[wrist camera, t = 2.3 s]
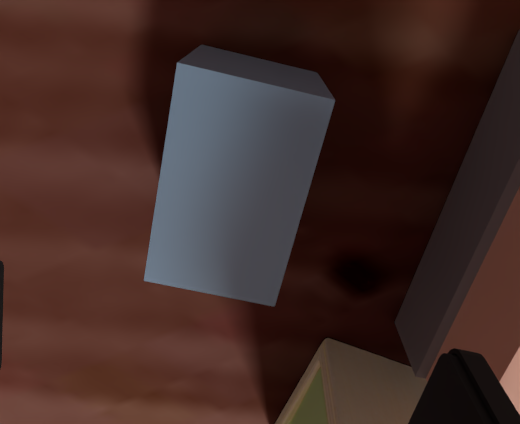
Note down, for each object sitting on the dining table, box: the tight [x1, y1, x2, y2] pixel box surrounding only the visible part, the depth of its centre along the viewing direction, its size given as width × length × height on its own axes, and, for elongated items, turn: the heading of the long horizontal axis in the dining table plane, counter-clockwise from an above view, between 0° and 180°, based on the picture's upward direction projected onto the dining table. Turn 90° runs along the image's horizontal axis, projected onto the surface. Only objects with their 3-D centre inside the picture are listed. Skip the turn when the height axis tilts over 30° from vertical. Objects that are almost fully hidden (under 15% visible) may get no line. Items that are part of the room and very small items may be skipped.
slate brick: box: [144, 44, 335, 307], centre depth 19 cm, size 8×5×6 cm, turn 167°
